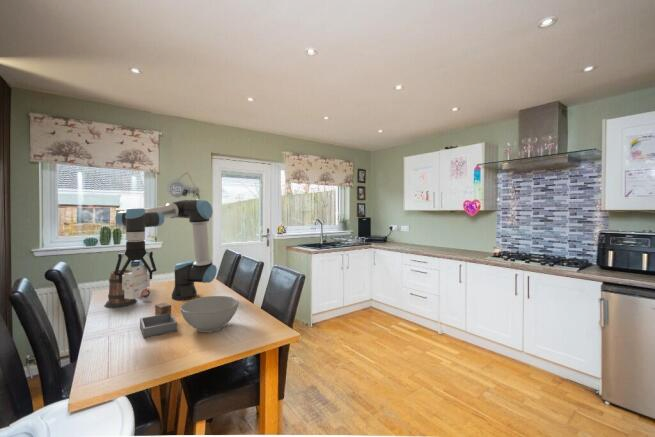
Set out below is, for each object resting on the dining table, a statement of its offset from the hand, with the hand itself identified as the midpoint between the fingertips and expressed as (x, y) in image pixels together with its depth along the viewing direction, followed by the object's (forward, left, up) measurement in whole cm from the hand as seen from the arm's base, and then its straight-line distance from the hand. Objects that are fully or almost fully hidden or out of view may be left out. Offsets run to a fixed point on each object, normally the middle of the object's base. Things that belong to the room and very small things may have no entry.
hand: (136, 287), depth 139 cm
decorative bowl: (-30, +15, -21) cm, 40 cm away
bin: (-9, +3, -21) cm, 23 cm away
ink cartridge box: (0, 0, -4) cm, 4 cm away
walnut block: (-13, -10, -21) cm, 27 cm away
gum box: (-7, -79, -21) cm, 82 cm away
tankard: (0, -53, -21) cm, 57 cm away
